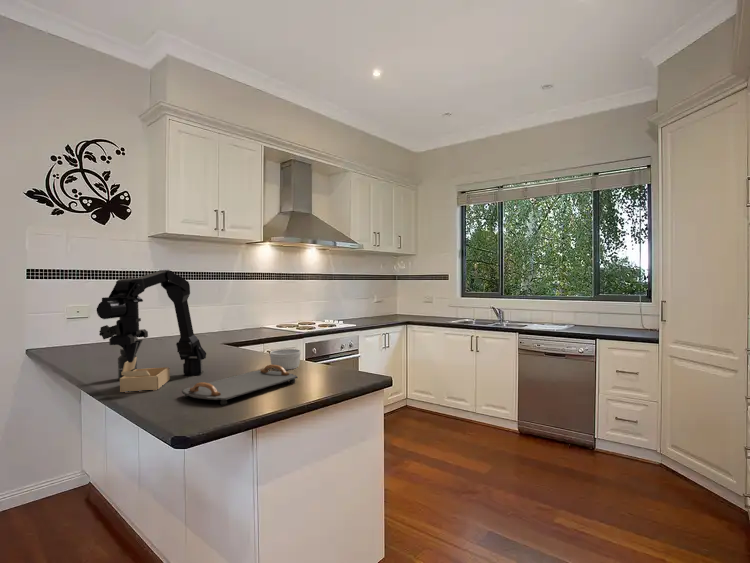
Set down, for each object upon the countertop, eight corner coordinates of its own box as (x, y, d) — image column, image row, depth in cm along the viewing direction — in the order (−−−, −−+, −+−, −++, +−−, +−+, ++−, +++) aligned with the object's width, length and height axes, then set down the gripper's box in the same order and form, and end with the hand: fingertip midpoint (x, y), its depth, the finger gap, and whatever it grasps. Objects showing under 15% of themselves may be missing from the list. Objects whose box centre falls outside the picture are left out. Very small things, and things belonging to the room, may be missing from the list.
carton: (170, 379, 174) (170, 366, 174) (158, 390, 158) (157, 376, 158) (136, 381, 172) (135, 369, 172) (120, 392, 156) (119, 378, 156)
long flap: (134, 368, 169) (137, 357, 169) (122, 375, 158) (125, 363, 158) (133, 368, 169) (136, 356, 169) (121, 374, 157) (124, 362, 158)
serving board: (261, 376, 178) (260, 360, 178) (305, 382, 166) (304, 365, 166) (172, 400, 146) (171, 381, 146) (218, 410, 133) (217, 390, 133)
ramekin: (294, 371, 184) (293, 354, 184) (264, 370, 186) (264, 354, 186) (305, 364, 197) (305, 348, 197) (277, 364, 199) (277, 348, 199)
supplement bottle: (115, 381, 174) (114, 350, 174) (120, 377, 181) (119, 347, 180) (135, 379, 176) (134, 349, 176) (139, 375, 182) (138, 346, 182)
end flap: (150, 374, 157) (146, 370, 153) (150, 375, 157) (146, 371, 153) (125, 375, 156) (121, 371, 152) (125, 377, 156) (121, 372, 152)
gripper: (113, 314, 157) (115, 358, 158) (90, 319, 139) (92, 369, 139) (147, 313, 160) (149, 357, 160) (129, 318, 141) (130, 367, 141)
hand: (130, 362), depth 150 cm, fingers closed
